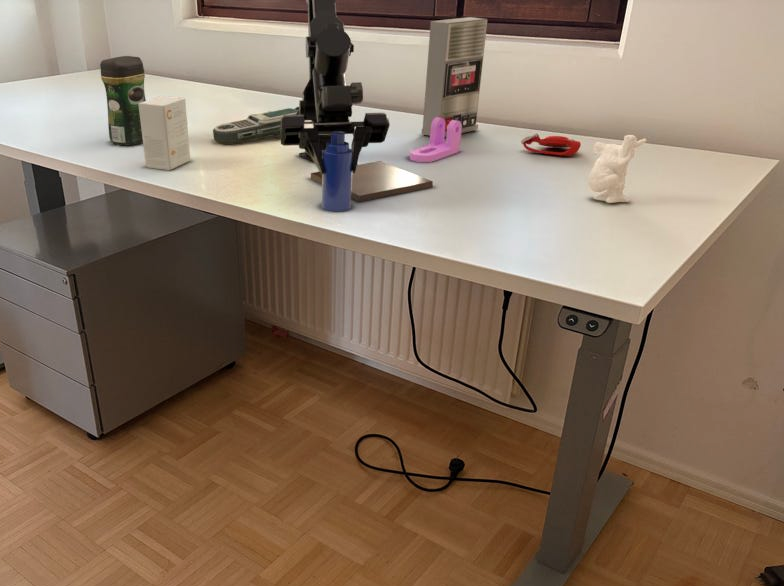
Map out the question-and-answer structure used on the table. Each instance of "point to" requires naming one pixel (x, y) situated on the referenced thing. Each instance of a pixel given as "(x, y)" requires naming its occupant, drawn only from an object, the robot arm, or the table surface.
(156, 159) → the small box
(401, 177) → the walnut board
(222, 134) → the communication device
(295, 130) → the robot arm
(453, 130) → the bracket
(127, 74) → the coffee jar
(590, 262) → the table surface
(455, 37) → the cassette tape recorder
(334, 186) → the blue bottle
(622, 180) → the white crouching figurine
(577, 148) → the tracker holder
